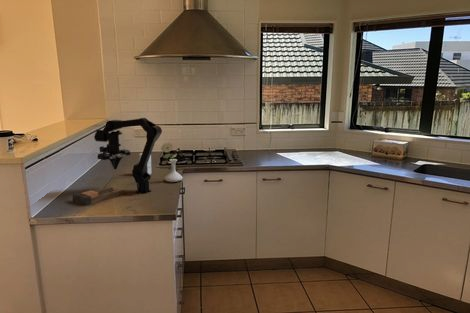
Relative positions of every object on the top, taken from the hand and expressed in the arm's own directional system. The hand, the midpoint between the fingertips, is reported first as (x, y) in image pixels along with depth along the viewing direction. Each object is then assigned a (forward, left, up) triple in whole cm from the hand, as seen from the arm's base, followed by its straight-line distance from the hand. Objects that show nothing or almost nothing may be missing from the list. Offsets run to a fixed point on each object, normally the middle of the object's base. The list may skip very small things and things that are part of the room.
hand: (115, 169), depth 203 cm
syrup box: (+12, -34, -12) cm, 38 cm away
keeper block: (-5, +21, -12) cm, 25 cm away
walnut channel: (-5, +15, -12) cm, 20 cm away
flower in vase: (-14, -32, -12) cm, 37 cm away
